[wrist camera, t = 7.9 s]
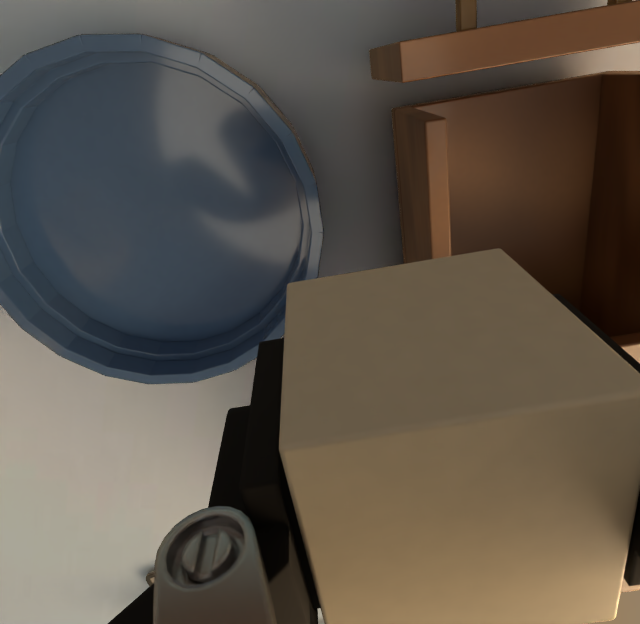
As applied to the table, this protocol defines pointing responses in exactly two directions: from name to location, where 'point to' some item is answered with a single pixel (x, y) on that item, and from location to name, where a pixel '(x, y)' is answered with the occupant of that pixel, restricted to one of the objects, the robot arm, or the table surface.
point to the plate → (149, 208)
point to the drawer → (527, 157)
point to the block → (457, 447)
